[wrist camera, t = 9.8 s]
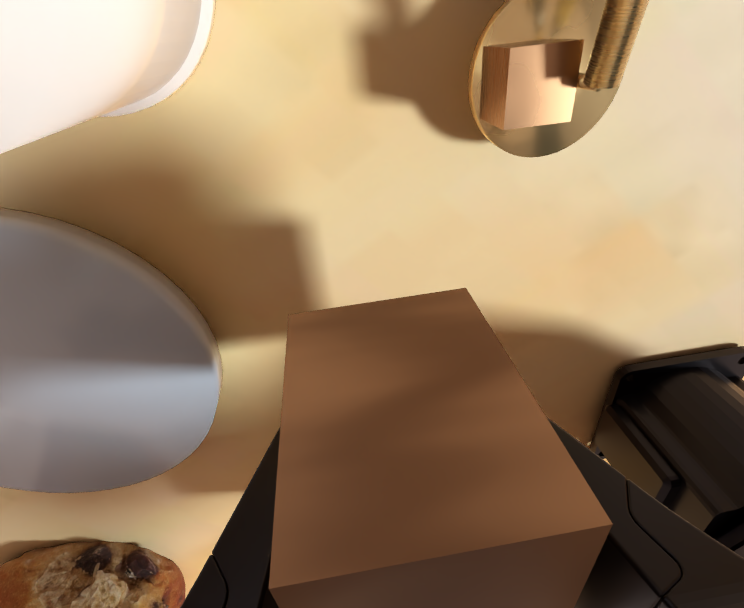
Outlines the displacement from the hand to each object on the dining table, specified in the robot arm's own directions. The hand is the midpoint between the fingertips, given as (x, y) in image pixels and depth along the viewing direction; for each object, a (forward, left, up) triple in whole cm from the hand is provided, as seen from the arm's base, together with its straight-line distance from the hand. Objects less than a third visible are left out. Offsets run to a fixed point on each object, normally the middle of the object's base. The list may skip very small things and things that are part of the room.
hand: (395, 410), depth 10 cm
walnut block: (0, 0, -2) cm, 2 cm away
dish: (+12, +1, -6) cm, 13 cm away
